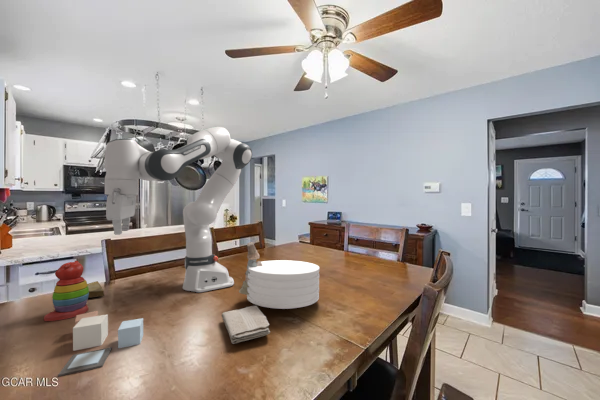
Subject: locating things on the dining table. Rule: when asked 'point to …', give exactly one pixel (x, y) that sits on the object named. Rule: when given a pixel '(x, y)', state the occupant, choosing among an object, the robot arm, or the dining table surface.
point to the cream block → (90, 332)
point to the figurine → (250, 265)
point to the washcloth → (245, 324)
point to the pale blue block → (130, 333)
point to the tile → (85, 361)
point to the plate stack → (283, 284)
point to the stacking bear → (69, 293)
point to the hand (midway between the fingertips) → (122, 232)
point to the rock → (95, 289)
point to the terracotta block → (85, 316)
